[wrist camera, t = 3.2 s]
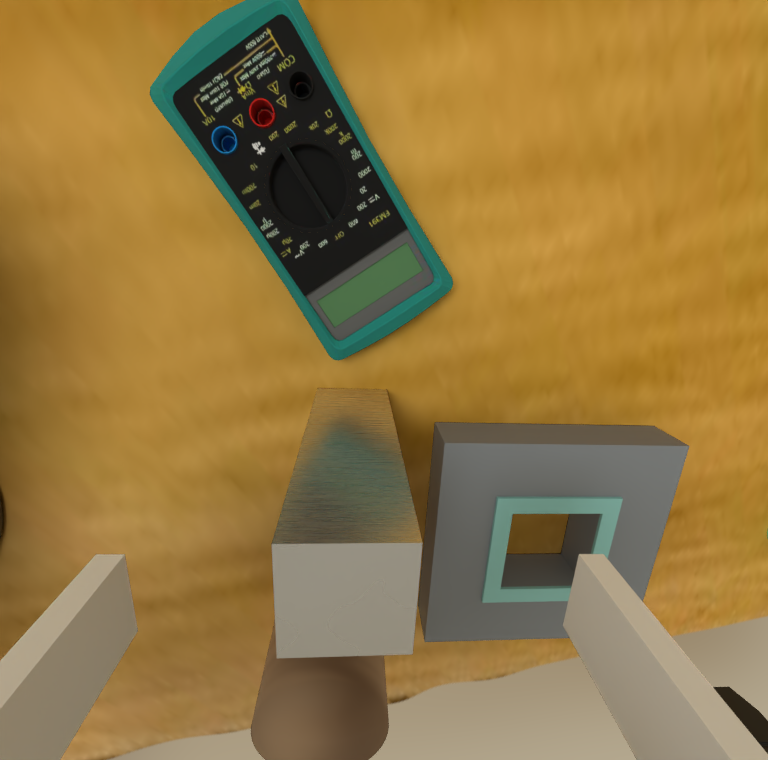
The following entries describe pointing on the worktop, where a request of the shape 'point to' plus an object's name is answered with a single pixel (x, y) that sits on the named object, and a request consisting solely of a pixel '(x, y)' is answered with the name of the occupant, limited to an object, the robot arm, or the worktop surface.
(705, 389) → the worktop surface
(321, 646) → the square bit
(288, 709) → the round dowel
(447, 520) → the socket plate
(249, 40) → the digital multimeter
